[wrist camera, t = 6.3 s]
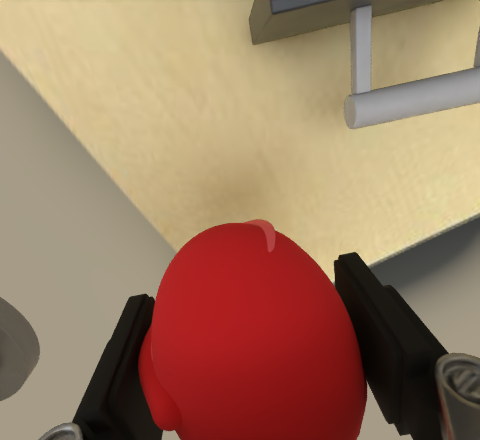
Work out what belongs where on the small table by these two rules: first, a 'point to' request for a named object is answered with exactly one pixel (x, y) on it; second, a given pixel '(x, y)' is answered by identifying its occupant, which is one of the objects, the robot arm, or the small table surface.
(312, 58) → the small table surface
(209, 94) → the small table surface
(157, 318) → the red rounded lump
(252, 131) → the small table surface
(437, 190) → the small table surface
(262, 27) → the drawer
